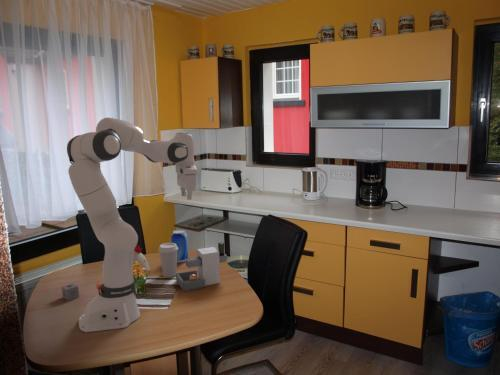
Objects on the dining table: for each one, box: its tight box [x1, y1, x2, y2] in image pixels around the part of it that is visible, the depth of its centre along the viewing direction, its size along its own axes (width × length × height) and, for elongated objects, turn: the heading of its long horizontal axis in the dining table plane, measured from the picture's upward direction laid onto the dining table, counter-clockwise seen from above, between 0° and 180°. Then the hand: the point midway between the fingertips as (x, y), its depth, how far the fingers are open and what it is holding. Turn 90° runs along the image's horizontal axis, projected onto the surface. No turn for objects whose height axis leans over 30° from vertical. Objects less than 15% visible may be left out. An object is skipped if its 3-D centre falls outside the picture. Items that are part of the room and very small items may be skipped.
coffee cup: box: [157, 242, 178, 278], centre depth 204 cm, size 10×10×15 cm
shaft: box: [185, 241, 228, 268], centre depth 194 cm, size 18×4×8 cm, turn 114°
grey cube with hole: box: [61, 282, 80, 302], centre depth 182 cm, size 5×5×5 cm
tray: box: [175, 269, 206, 293], centre depth 193 cm, size 10×13×4 cm
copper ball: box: [189, 274, 198, 281], centre depth 194 cm, size 4×4×4 cm
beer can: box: [170, 229, 189, 264], centre depth 224 cm, size 8×8×16 cm
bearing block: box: [196, 246, 221, 286], centre depth 196 cm, size 8×8×15 cm
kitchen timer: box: [133, 244, 151, 273], centre depth 207 cm, size 14×14×15 cm
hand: (186, 197), depth 196 cm, fingers open, 8 cm apart
